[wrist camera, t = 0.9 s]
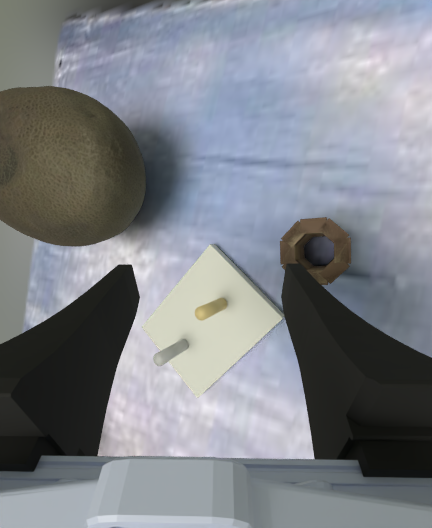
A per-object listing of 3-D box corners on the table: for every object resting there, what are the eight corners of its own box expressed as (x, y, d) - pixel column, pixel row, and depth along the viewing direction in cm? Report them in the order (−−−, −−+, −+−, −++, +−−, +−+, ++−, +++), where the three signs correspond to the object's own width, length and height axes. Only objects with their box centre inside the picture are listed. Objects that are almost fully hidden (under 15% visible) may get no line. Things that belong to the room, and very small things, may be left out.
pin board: (285, 315, 26) (271, 332, 21) (202, 392, 30) (174, 422, 25) (215, 244, 29) (187, 243, 23) (148, 324, 33) (112, 338, 28)
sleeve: (360, 249, 23) (367, 250, 18) (320, 287, 24) (314, 298, 19) (318, 214, 24) (312, 204, 19) (282, 252, 26) (267, 253, 20)
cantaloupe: (138, 272, 33) (-4, 287, 19) (72, 206, 37) (-83, 181, 24) (200, 169, 29) (75, 97, 15) (118, 108, 33) (-38, 9, 19)
